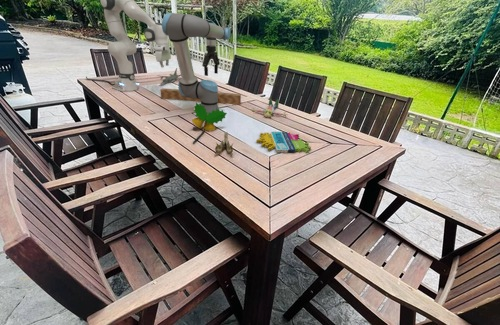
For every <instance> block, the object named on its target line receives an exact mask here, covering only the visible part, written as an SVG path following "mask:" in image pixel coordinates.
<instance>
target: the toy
mask: <svg viewBox="0 0 500 325" xmlns="http://www.w3.org/2000/svg"><path fill="white" fill-rule="evenodd" d="M278 107H279V99H276V100H275V102H274V104H273V100H272V98H271V97H270V98H269V100H268V106H267V107H266V108H265V110H263V109H255V108H254V107H252V108H251V109H250V111H251V112H252V113H255V112H257V113H263V114H262V116H263V117H265V118H272V117H273V115H277V116H283V117H284V118H287V116H288V114H287V113H286V111H285V112H283V113H280V112H278V111H275V109H276V108H278Z"/></svg>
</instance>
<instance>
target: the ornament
mask: <svg viewBox="0 0 500 325" xmlns="http://www.w3.org/2000/svg"><path fill="white" fill-rule="evenodd" d="M219 110H220V108H219V109H217V110H216V111H214V110H212V112H211V113H208V112H206V109H204V106H201V103H198V102H197V101H195V105H194V106H193V112H194V113H195V118H192V119H191V122H192V123H193V125H195V127H197V128H198V129H202V130H204V129H205V131H206V132H212V131H213V132H214V131H215V130H216V126H215V124H218V123H219V122H223V119H226V115H227V114H228V113H227V112H224V110H223V109H221V110H220V111H219ZM207 113H208V115H207ZM204 123H205V125H204ZM214 123H215V124H214Z"/></svg>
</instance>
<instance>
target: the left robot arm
mask: <svg viewBox="0 0 500 325" xmlns="http://www.w3.org/2000/svg"><path fill="white" fill-rule="evenodd" d="M99 3H100V5H101V7H102V9H103V15H104V19H105V23H106V25H107V29H108V31H109V34H110V35H111V36H112V37H114V38H115V39H116V41H112V42H109V43H108V45H107V51H108V53H109V54H110V55H111V57H113V58H114V59H115V61H116V64H117V67H118V71H119V72H117V76H118V77H117V78H116V79H115V80H114V83H112V82H110V81H109V80H105V79H96V78H94V79H93V78H88V76H85V78H86V80H89V81H99V82H100V81H102V82H106V83H108V84H110V85H112V87H111V88H112V89H114V90H117V91H118V92H133V91H138V90H139V86H138V85H139V83H137V80H136V78H135V77H136V76H135V72H134V66H133V63H132V61H131V60H129V59H128V57H127V56H131V55H134V54H136V53H137V50H138V48H137V47H138V46H137V45H136V43H135V42H134V41H132V40H131V39H130V38H129V36H128V35H127V33H126V31H125V28H124V25H123V22H122V19H121V16H120V14H121V13H122V14H123V13H125V15H126V16H127V17H128V18H130V19H131V20H133V21H134V20H135V21H138V22H142V23H144V24H146V25H147V26H148V27H147V28H145V29H144V32H143V33H144V34H143V35H144V39H145V40H146V41H147V42H150V43H155V46H154V47H153V50H154V56H155V60H156V62H158V63H159V65H160V68H162V69H163V68H164V67H165V66H167V67H168V66H169V63H170V60H171V59H172V55H171V50H170V47H169V36H167V35H165V34H164V33H163V30H162V22H156V21H155V20H154V19H153V17H151V15H150V14H148V13H147V12H146V11H145V10H144V9H142V7H141V6H139V5H138V4H137V2H136V0H99ZM164 62H165V64H164Z"/></svg>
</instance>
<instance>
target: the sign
mask: <svg viewBox="0 0 500 325" xmlns="http://www.w3.org/2000/svg"><path fill="white" fill-rule="evenodd" d="M299 136H300V135H299V134H298V133H296V134H294V133H291V132H287V131H270V132H264V133H263V132H260V133H259V139H258V138H257V139H256V143H257V144H261V148H263V147H264V148H265V149H267V151H268V152H271V151H272V150H273V149H275V152H276V153H283V154H285V153H287V154H288V153H290V154H293V153H296V152H298V153H301V152H305V153H310V151H311V150H312V149H311V148H312V146H309V142H304V141H303V139H302V138H299Z"/></svg>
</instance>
